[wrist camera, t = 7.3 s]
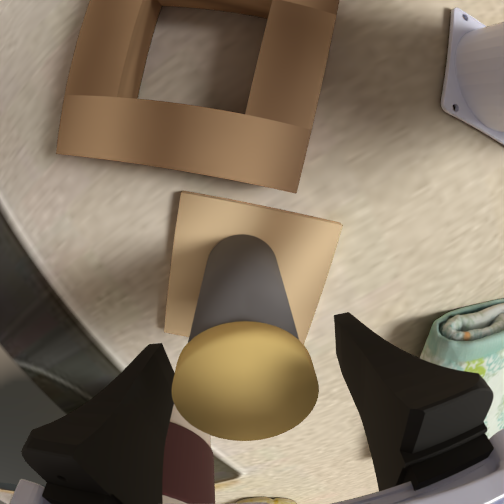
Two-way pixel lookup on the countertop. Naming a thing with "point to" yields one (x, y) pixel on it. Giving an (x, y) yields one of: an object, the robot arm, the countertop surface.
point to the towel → (473, 350)
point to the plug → (244, 349)
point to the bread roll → (268, 500)
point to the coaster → (259, 225)
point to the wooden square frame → (195, 117)
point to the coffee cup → (187, 464)
